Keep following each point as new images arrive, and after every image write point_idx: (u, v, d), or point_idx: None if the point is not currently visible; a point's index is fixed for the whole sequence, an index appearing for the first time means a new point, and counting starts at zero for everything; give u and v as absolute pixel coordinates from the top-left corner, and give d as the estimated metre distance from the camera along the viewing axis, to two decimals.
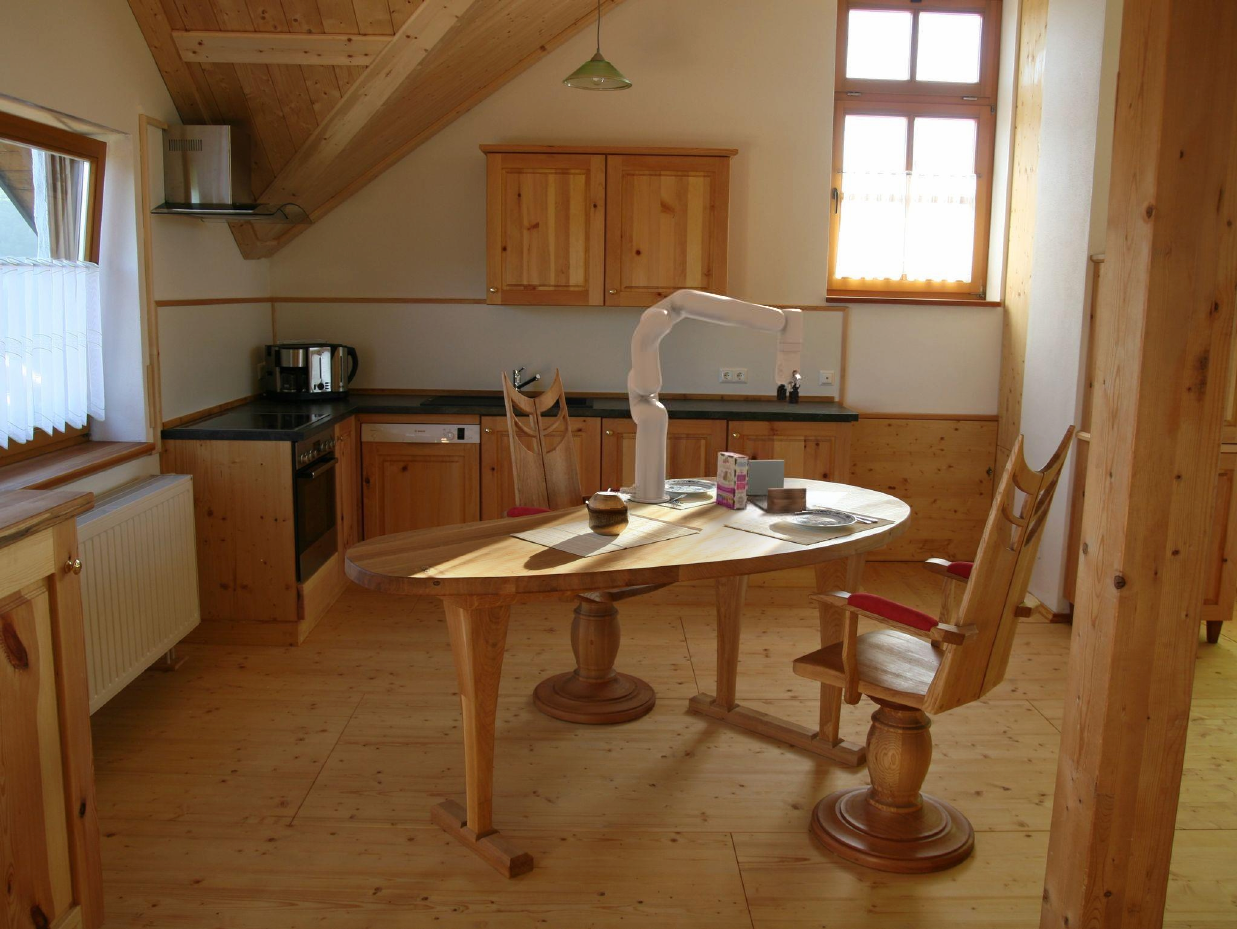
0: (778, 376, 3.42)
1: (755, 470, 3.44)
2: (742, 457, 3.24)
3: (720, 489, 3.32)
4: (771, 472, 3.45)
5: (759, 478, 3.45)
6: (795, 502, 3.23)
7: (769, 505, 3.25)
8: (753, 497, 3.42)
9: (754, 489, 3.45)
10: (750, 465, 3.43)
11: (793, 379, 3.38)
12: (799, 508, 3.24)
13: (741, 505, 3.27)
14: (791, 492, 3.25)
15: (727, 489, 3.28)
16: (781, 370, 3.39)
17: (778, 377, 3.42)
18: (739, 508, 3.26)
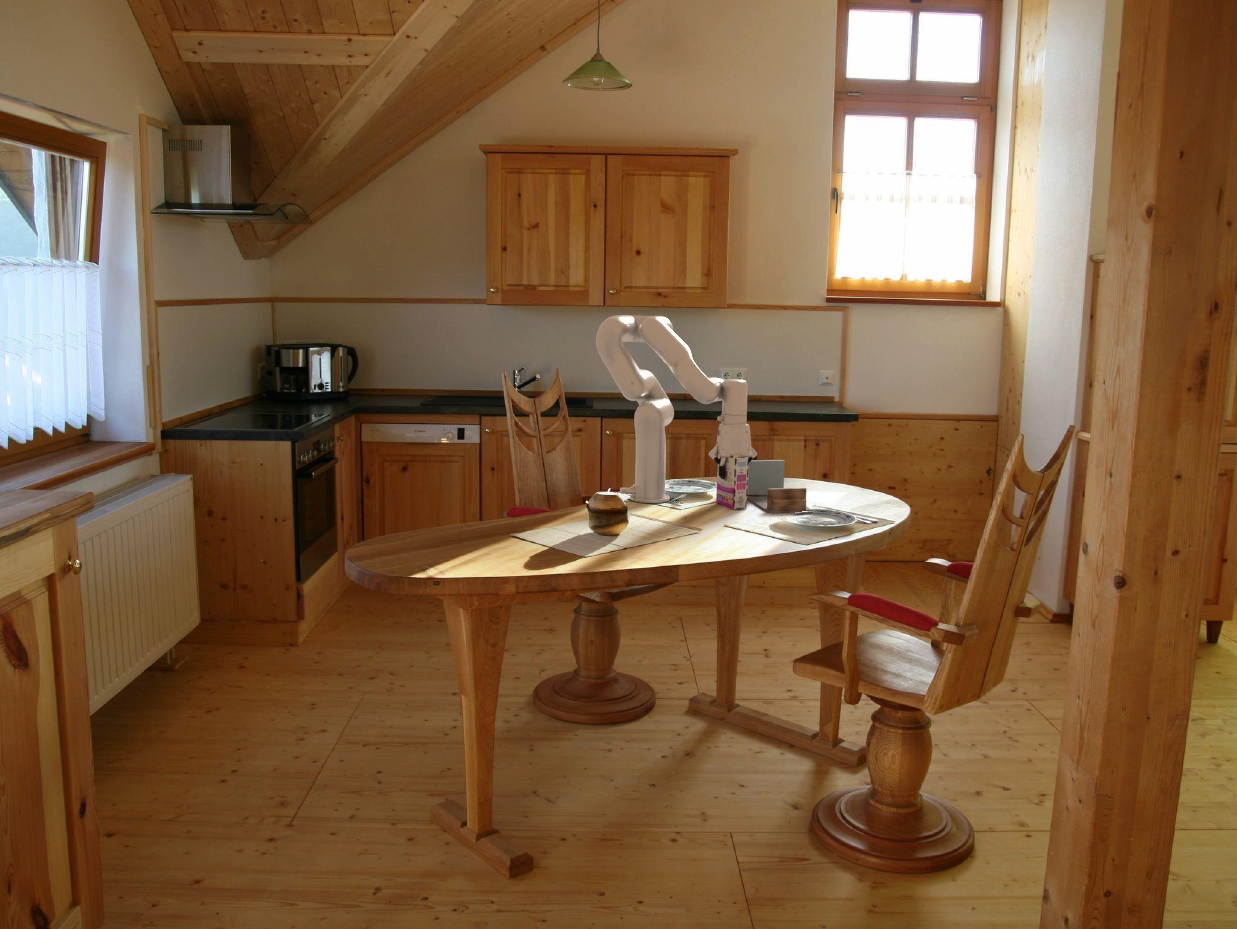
0: (731, 450, 3.26)
1: (755, 470, 3.44)
2: (742, 457, 3.24)
3: (720, 488, 3.32)
4: (771, 472, 3.45)
5: (759, 478, 3.45)
6: (795, 502, 3.23)
7: (769, 505, 3.25)
8: (753, 497, 3.42)
9: (754, 489, 3.45)
10: (750, 465, 3.43)
11: None
12: (799, 508, 3.24)
13: (742, 505, 3.27)
14: (791, 492, 3.25)
15: (727, 489, 3.28)
16: (739, 443, 3.26)
17: (731, 451, 3.26)
18: (739, 508, 3.26)
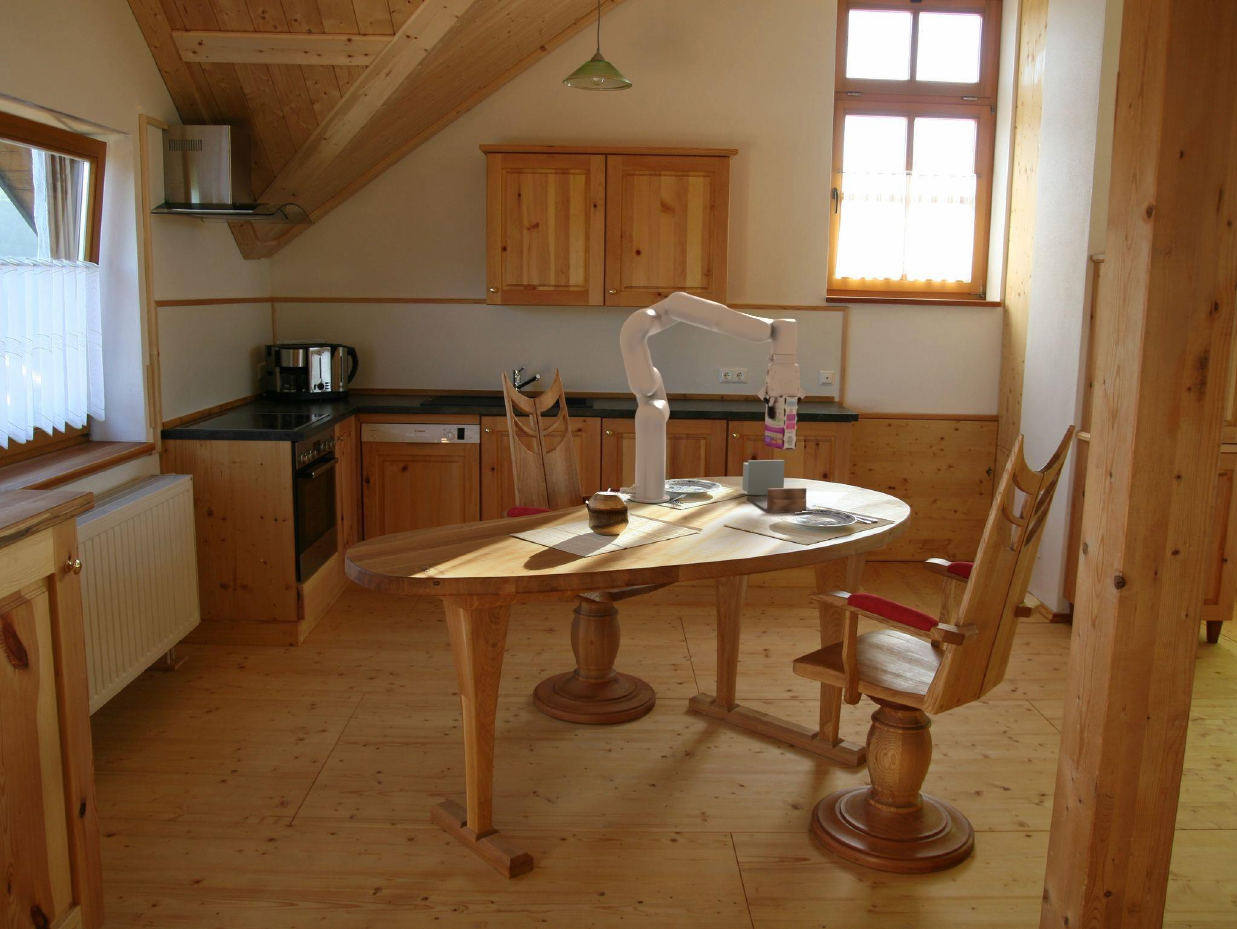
0: (781, 390, 3.25)
1: (755, 470, 3.44)
2: (792, 396, 3.24)
3: (768, 429, 3.31)
4: (771, 472, 3.45)
5: (759, 478, 3.45)
6: (795, 502, 3.23)
7: (769, 505, 3.25)
8: (753, 497, 3.42)
9: (754, 489, 3.45)
10: (750, 465, 3.43)
11: None
12: (799, 508, 3.24)
13: (791, 445, 3.26)
14: (791, 492, 3.25)
15: (776, 430, 3.27)
16: (788, 383, 3.25)
17: (781, 391, 3.25)
18: (788, 448, 3.26)
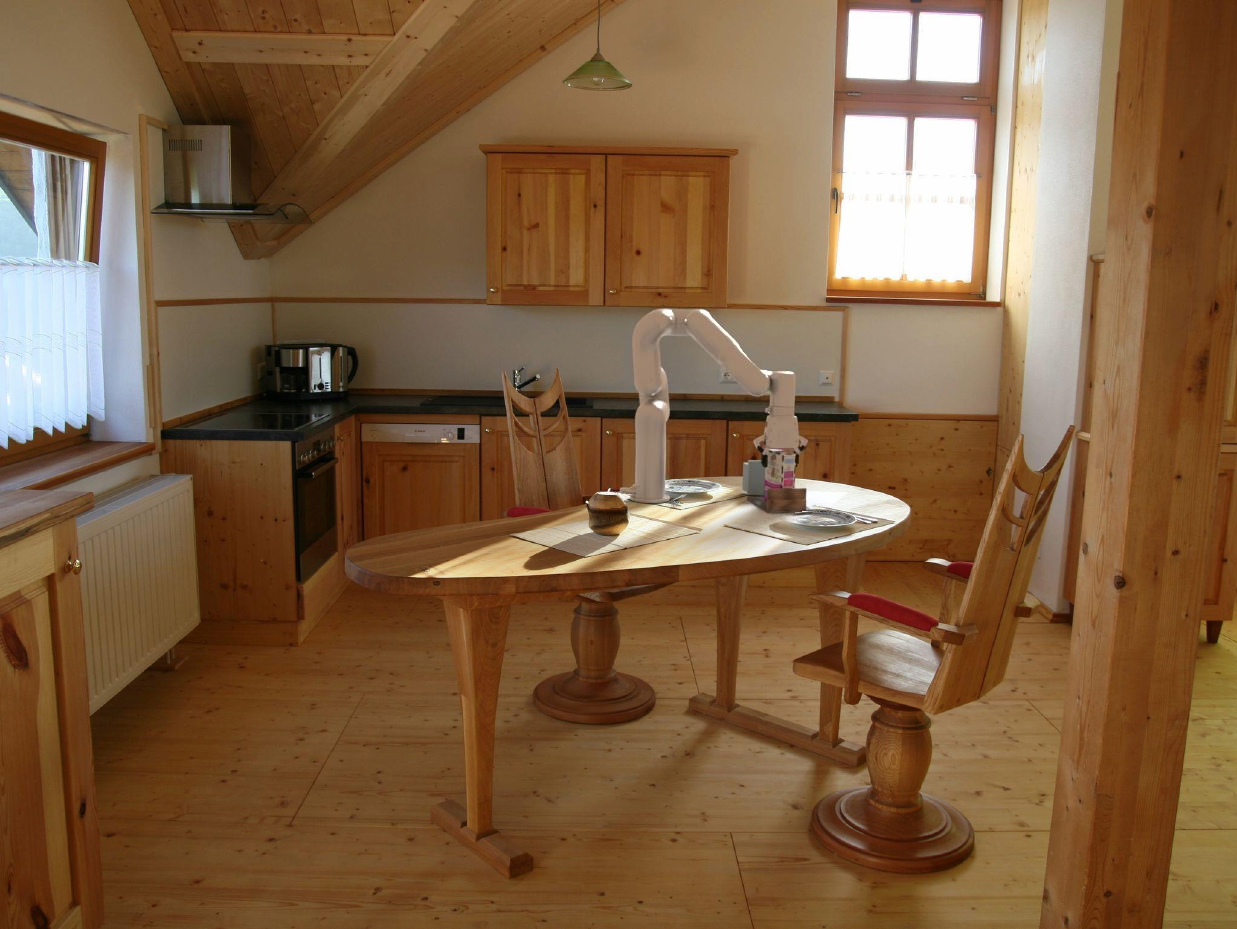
0: (779, 442, 3.28)
1: (755, 470, 3.44)
2: (789, 454, 3.27)
3: (768, 485, 3.35)
4: None
5: (759, 478, 3.45)
6: (795, 502, 3.23)
7: (769, 505, 3.25)
8: (753, 497, 3.42)
9: (754, 489, 3.45)
10: (750, 465, 3.43)
11: None
12: (799, 508, 3.24)
13: None
14: (791, 492, 3.25)
15: (775, 486, 3.31)
16: (786, 435, 3.28)
17: (779, 443, 3.28)
18: None
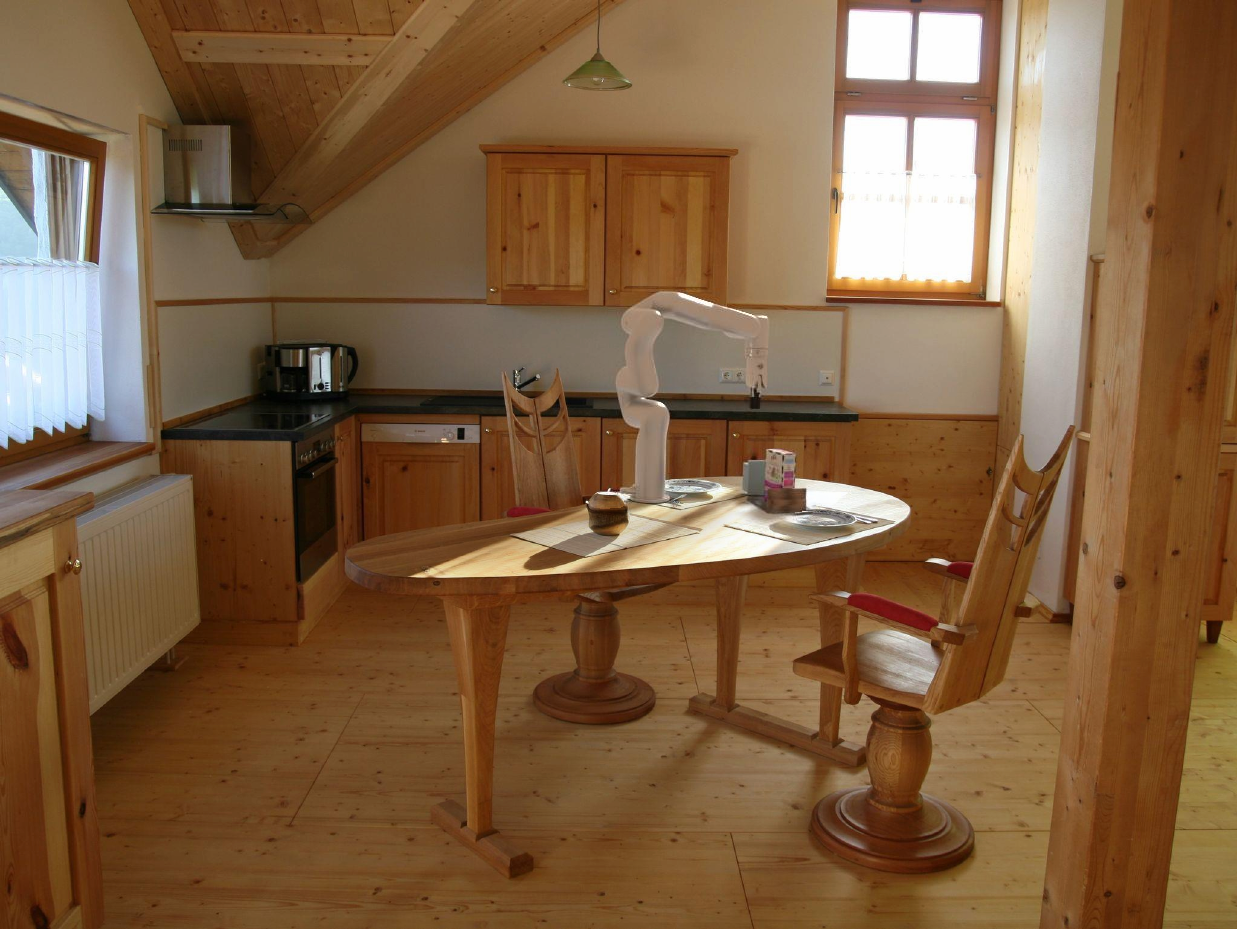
0: None
1: (755, 470, 3.44)
2: (790, 454, 3.27)
3: (768, 485, 3.35)
4: None
5: (759, 478, 3.45)
6: (795, 502, 3.23)
7: (769, 505, 3.25)
8: (753, 497, 3.42)
9: (754, 489, 3.45)
10: (750, 465, 3.43)
11: None
12: (799, 508, 3.24)
13: None
14: (791, 492, 3.25)
15: (775, 486, 3.31)
16: None
17: None
18: None
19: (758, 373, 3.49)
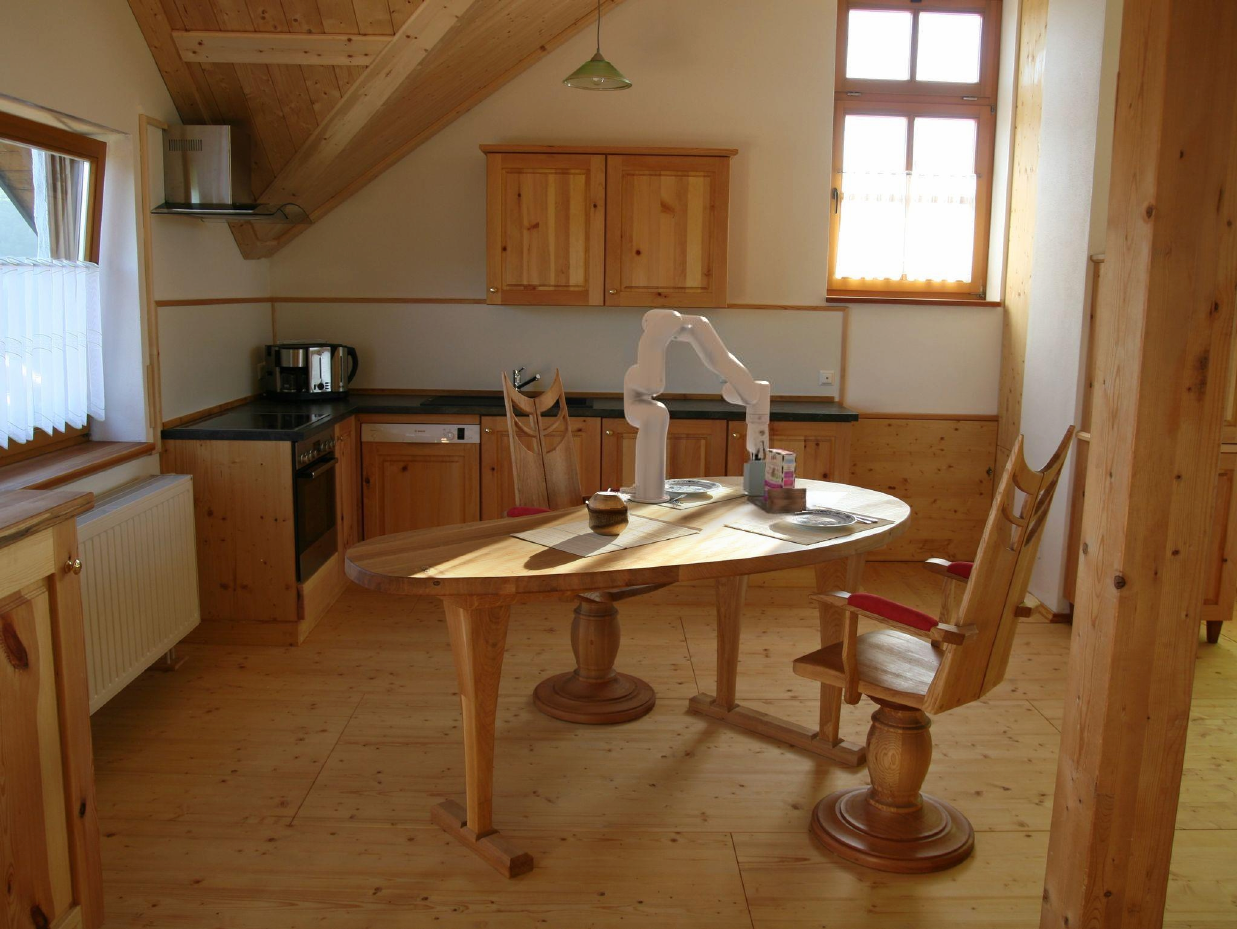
0: None
1: (755, 470, 3.43)
2: (790, 454, 3.27)
3: (768, 485, 3.35)
4: None
5: (760, 478, 3.44)
6: (795, 502, 3.23)
7: (769, 505, 3.25)
8: (753, 497, 3.42)
9: (755, 489, 3.44)
10: (751, 465, 3.42)
11: None
12: (799, 508, 3.24)
13: None
14: (791, 492, 3.25)
15: (775, 486, 3.31)
16: None
17: None
18: None
19: (760, 439, 3.49)
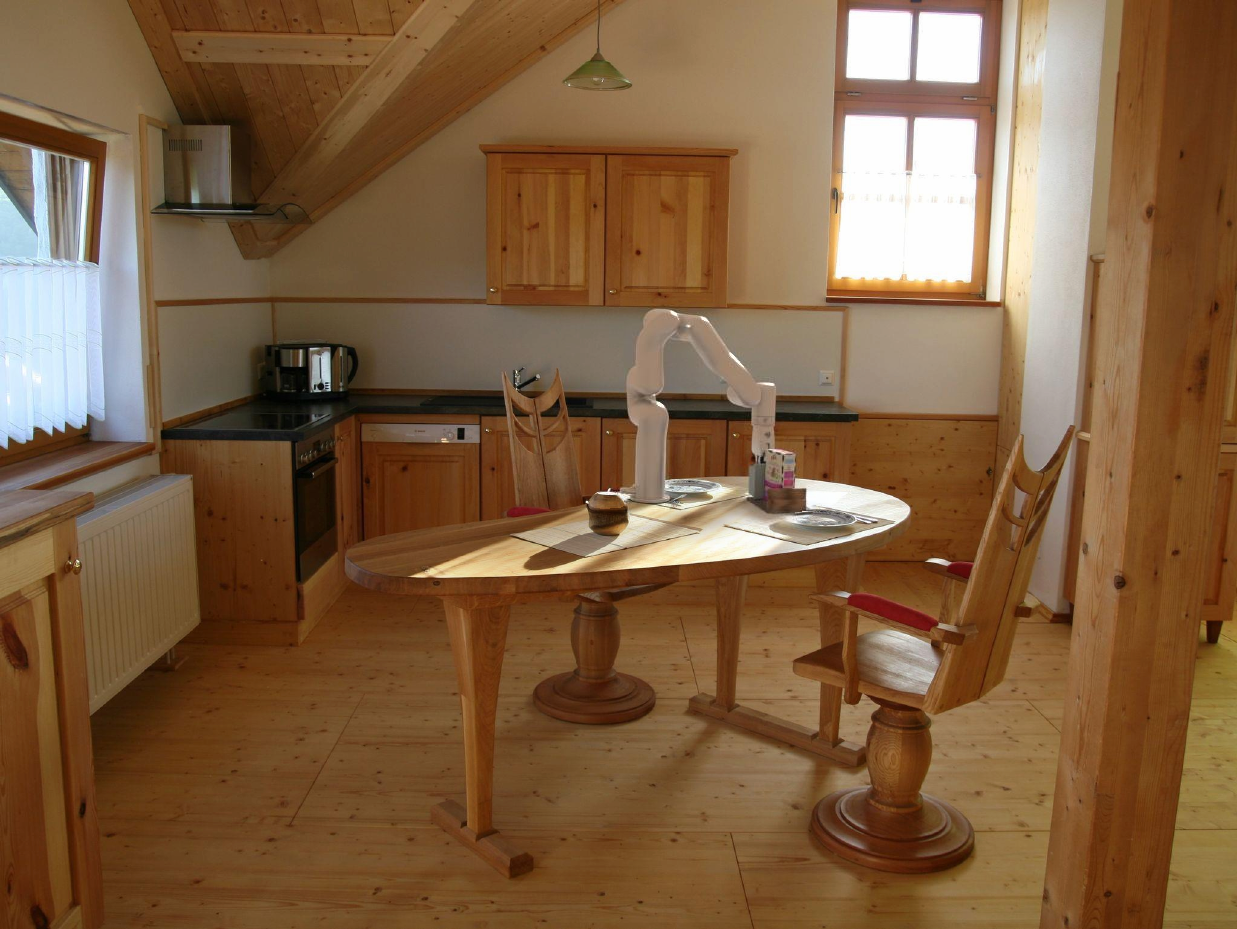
0: None
1: (761, 473, 3.37)
2: (790, 454, 3.27)
3: (768, 485, 3.35)
4: None
5: None
6: (795, 502, 3.23)
7: (769, 505, 3.25)
8: None
9: (760, 493, 3.38)
10: (756, 468, 3.37)
11: None
12: (799, 508, 3.24)
13: None
14: (791, 492, 3.25)
15: (775, 486, 3.31)
16: None
17: None
18: None
19: (766, 442, 3.43)
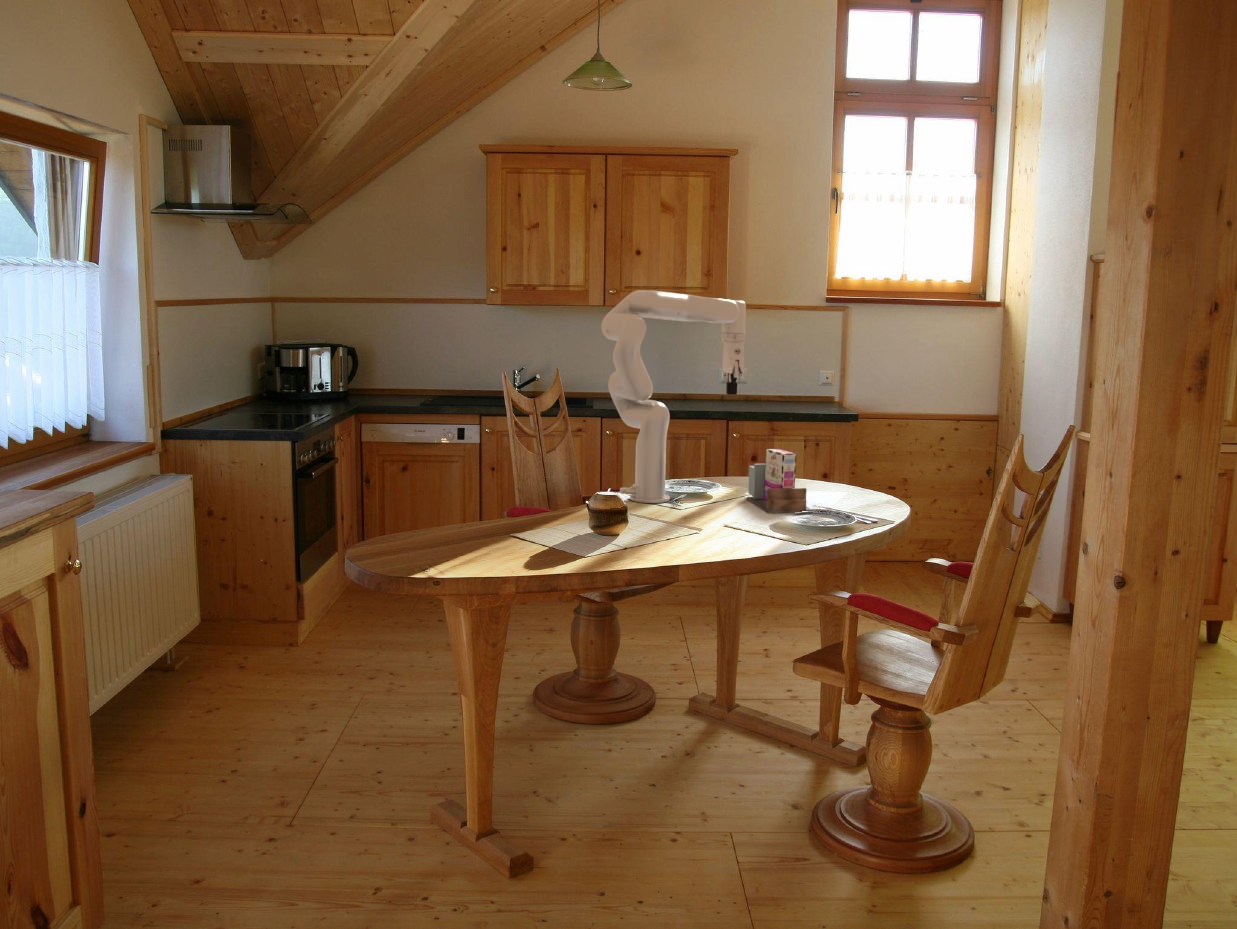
0: None
1: (761, 473, 3.38)
2: (790, 454, 3.27)
3: (768, 485, 3.35)
4: None
5: None
6: (795, 502, 3.23)
7: (769, 505, 3.25)
8: None
9: (760, 493, 3.39)
10: (756, 468, 3.37)
11: None
12: (799, 508, 3.24)
13: None
14: (791, 492, 3.25)
15: (775, 486, 3.31)
16: None
17: None
18: None
19: (735, 358, 3.47)
